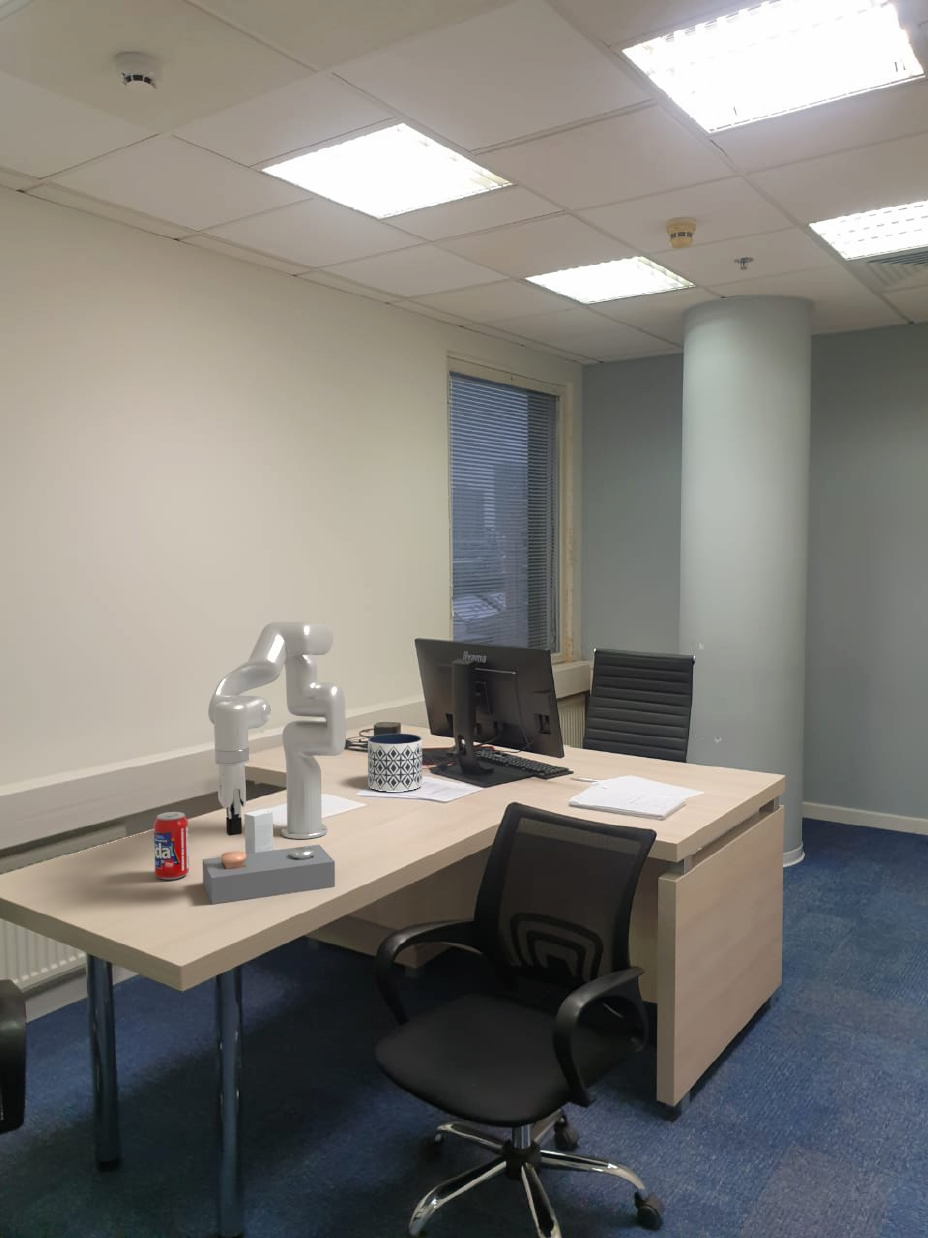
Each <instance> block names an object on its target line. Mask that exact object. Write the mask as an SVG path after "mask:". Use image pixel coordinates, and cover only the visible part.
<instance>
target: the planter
mask: <svg viewBox="0 0 928 1238" xmlns="http://www.w3.org/2000/svg"><path fill="white" fill-rule="evenodd" d="M421 785H422V786H423V738H422V736H419V735H417V734H410V733H385V734H384V733H383V734H377V735H373V736H370V737H368V738H367V786H368V788H369V787H371V788H374V789H377V790H382V791H402V790H410V789H414V788H417V787H419V786H421ZM422 786H421V787H422ZM371 788H370V789H371Z"/></svg>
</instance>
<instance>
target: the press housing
mask: <svg viewBox="0 0 928 1238" xmlns="http://www.w3.org/2000/svg"><path fill="white" fill-rule="evenodd" d="M299 847H300V846H296V848H299ZM303 847H309V848H312V849H314V856H313V857H312V858H308V859H299V860H294V859H293V858H291V857H290V850H292V849H294V848H295V847H290V848H289V847H288V848H283V849H274V850H273V851H265V852H257V853H249V854H246V861H244V867H239V868H232V869H225V868H224V866H223V863H222V862H221V856H220V857H211V858H204V859H202V885H203V887H204V889H205V892H206V894H207V896H208V898H209V900H210V903H211V905H213V906H214V905H219V904H226V903H232V902H238V901H239V900H240V901H246V900H253V898H254V899H260V898H267V897H272V896H271V895H274V896H279V895H278V894H281V895H286V894H285V893H288V894H292V893H291V892H294V893H299V892H298V891H301V892H307V891H306V890H308V891H313V890H312V889H315V890H319V889H318V888H322V889H326V888H325V887H329V888H334V886H335V887H336V874H335V873H336V869H335V868H336V867H335V866H336V863H335V862H336V861H335V860H334V858H332V856H331V855H329V853H328V852H327V851H326V850H325V849H324V848H323V847H322V846H321V845H320V844H315V845H313V844H312V845H305V846H303ZM266 896H267V897H266ZM259 897H260V898H259Z"/></svg>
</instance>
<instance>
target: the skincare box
mask: <svg viewBox="0 0 928 1238" xmlns="http://www.w3.org/2000/svg"><path fill="white" fill-rule="evenodd" d="M243 815H244V816H243V818H244V843H245V844H244V848H245V852H244V853H246V854H249V853H257V852H265V851H273V850H275V848H274V824H273V823H274V822H273V820H274V818H273V811H272V810H268V809H264V808H260V809H257V810H254V811H250V812H246V813H244V814H243Z"/></svg>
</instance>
